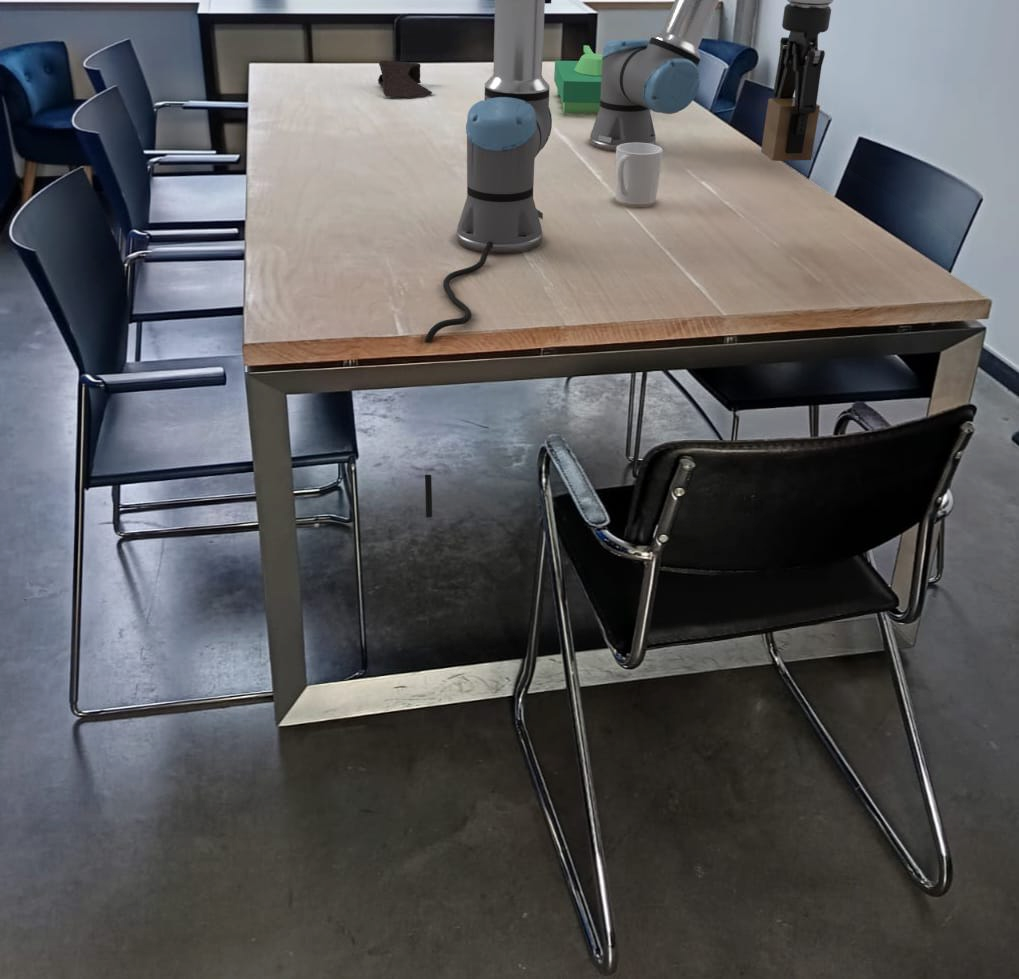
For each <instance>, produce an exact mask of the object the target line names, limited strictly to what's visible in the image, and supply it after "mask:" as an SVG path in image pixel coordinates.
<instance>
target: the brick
mask: <svg viewBox="0 0 1019 979" xmlns="http://www.w3.org/2000/svg"><path fill="white" fill-rule="evenodd" d="M794 107H795V97H793V98H777V97H773V98H768V100H767V106H766V112H765V113H766V115H765V122H764V129H763V134H762V143H761V149H760V152H761V153H762V154H763V155H764V156H766V158H768V159H770V160H771V161H772V162H783V161H784V162H785V161H789V162H790V161H811V160H812V156H813V153H814V152H813V151H814V145H815V139H816V134H817V133H816V132H817V126H818V121H819V115H820V110H821V108H820V107H821V105H820V104H818V103H816V110H815V113H810V114H809V115H808V119H807V125H806V131H805V138H804V144H803V150H802V153H786V146H787V139H788V133H789V126H790V119H791V114H790V111H794Z"/></svg>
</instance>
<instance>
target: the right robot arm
mask: <svg viewBox="0 0 1019 979" xmlns="http://www.w3.org/2000/svg"><path fill="white" fill-rule="evenodd" d="M719 2H720V0H674V1H673V4H672V7H671V8H670V10H669V13H668V15H667V18H666V20H665V22H664V25H663V27H662V29H661V31H660V32H657V33H656V34H653V35H651V37H650V38H624V39H611V40H609V41H606V43H605V44H604V46H603V50H602V54H603V56H602V78H601V96H600V109H599V112H598V114H596V115H597V116H596V118H595V121H594V124H593V126H592V129H591V131H590V135H589V144H590V145H591V146H592V147H594V148H597V149H600V150H604V151H610V152H616V148H617V146H618V145H620V144H624V143H648V144H653V145H656V140H657V139H656V137H657V136H656V132H655V127H654V122H653V118H652V114H651V111H652V112H654V113H661V114H665V115H673V114H677V113H679V112H680V111H683V110H685V109H686V108H687V107H688V106H690V104H691V103H692V102H693V101H694V99H695V98H696V96H697V94H698V92H699V89H700V86H701V85H700V84H701V79H700V77H699V76H700V72H699V69H698V66H699V64H700V62H701V60H702V57H701V54H700V51H699V47H700V44H701V42H702V40H703V38H704V35H705V34H706V31H707V28H708V26H709V24H710V21H711V19H712V18H713V16H714V13H715V11H716V9H717V7H718V4H719ZM547 4H552V0H545V5H547Z"/></svg>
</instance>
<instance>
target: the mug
mask: <svg viewBox="0 0 1019 979" xmlns="http://www.w3.org/2000/svg"><path fill="white" fill-rule="evenodd" d="M663 152H664V151H663V148H662V147H661V146H659V145H657V144H655V145H653V144H648V143H624V144H620V145H618V146H617V148H616V151H615V153H616V154H615V188H614V189H615V191H614V192H615V194H614V199H615V202H616V203H617V204H619V205H621V206H626V207H630V208H631V207H632V208H645V207H651V206H653V205H654V204H655V203H656V202H657V195H658V188H659V180H660V173H661V166H662V158H663Z"/></svg>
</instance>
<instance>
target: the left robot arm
mask: <svg viewBox="0 0 1019 979" xmlns="http://www.w3.org/2000/svg"><path fill="white" fill-rule="evenodd" d="M786 1H787V2H788V3H786V5H785V6H784V7H783V8H784V10H783V14H782V21H781V22H782V23H781V27H782V29H783V30H785V31H788V32H789V34H788V37H787V36H785V37H784V36H783V37H781V38H780V40H779V42H780V44H779V46H780V47H779V56H778V62H777V68H776V74H775V79H774V80H775V81H774V86H773V91H772V97H773V98H795V107H794V111H790V114H791V119H790V126H789V133H788V139H787V146H786V153H802V150H803V144H804V138H805V131H806V125H807V119H808V115H809V114H810V113H815V110H816V104H818V95H819V88H820V80H821V73H822V66H823V63H824V58H825V55H826V53H825V50H821V49H820V50H819V48H818V47H819V35H820V34H821V33H825V32H827V31H828V30H829V27H830V21H831V16H832V15H831V14H832V9H831V6H830V5H831V4H833V2H834V0H786ZM545 6H546V4H545V0H494V28H493V29H494V32H493V34H494V35H493V36H494V37H493V73H492V75H491V76H490V77H489V79H487V80H486V81H485V83H484V100H480V101H477V102H475V103H474V104H473V105H472V106H471V107H470V108H469V109H468V111H467V119H466V123H465V130H466V131H465V133H466V192H467V193H466V198H465V202H464V205H463V209H462V211H461V214H460V218H459V220H458V224H457V227H456V241H457V243H458V244H459V245H461V246H462V247H464V248H466V249H468V250H470V251H475V252H479V253H481V255H480V259H479V261H477V263H476V264H473V265H471V266H469V267H465V268H461V269H457V270H455V271H452V272H450V273H448V275H446V276H445V278H444V279H443V282H442V284H443V285H442V286H443V290H444V291H445V293H446V295H447V297H448V298H449V300H450V302H451V303H452V304H453V305H454V306H456V307H457V308H458V309H460V310H461V311H462V312H463V313H464V316H462V317H456V318H449V319H444V320H440V321H438V322H437V323H436V324H434V325H433V326H432V327H431V328H430V329H429V330H428V332H427V334H426V336H425V338H424V343H426V344H428V343H429V344H430V343H432V341H433V339H434V337H435V336H436V334H437V333H438V332H439V331H440V330H442V329H444V328H447V327H451V326H459V325H465V324H467V323H468V322H469V321H470V320H471V319H472V311H471V309H470V308H469V307H468V306H467V305H466V304H465V303H464V302H462V301H461V300H460V299H458V298H457V296H456V294H455V293H454V291H453V289H452V288H451V285H450V283H451V281H453V280H454V279H456V278H459V277H462V276H466V275H469V274H472V273H474V272H477V271H479V270H481V269H482V268H483V266H484V265H485V264H486V262H487V259H488V256H489V254H497V255H499V254H500V255H506V254H507V255H508V254H517V253H524V252H527V251H530V250H533V249H536V248H538V247H539V246H540V245H541V244H542V243H543V229H542V224H541V221H540V220H543V219H544V213H543V212H542V211H540V210H539V209H537V206H536V204H535V199H534V184H535V181H534V180H535V159H536V157H537V156H538V155H539V153H540V152H541V151H542V150H543V149H544V147H545V146H546V144H547V143H548V141H549V138H550V136H551V133H552V128H553V119H552V113H551V108H550V84H549V83H548V82H547V81H546V79H545V78H544V77H543V75H542V74H543V53H544V52H543V51H544V50H543V49H544V30H545V9H546V8H545ZM424 485H425V488H424V490H425V517H426V518H432V517H433V486H432V474H424Z"/></svg>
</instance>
